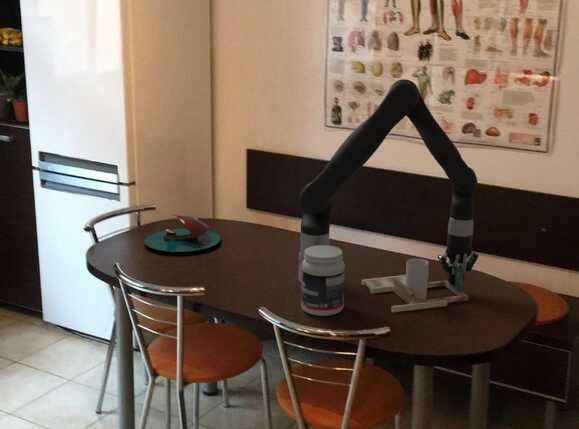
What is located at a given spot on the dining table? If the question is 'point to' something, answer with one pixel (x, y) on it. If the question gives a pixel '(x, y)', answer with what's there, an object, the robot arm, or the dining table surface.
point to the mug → (417, 277)
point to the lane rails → (407, 306)
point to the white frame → (457, 288)
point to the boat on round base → (184, 237)
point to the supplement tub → (322, 280)
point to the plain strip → (384, 282)
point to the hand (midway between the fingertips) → (455, 284)
